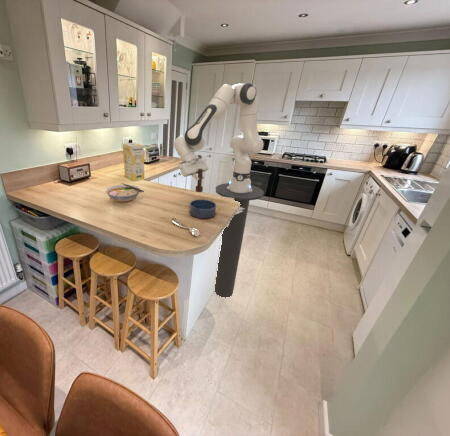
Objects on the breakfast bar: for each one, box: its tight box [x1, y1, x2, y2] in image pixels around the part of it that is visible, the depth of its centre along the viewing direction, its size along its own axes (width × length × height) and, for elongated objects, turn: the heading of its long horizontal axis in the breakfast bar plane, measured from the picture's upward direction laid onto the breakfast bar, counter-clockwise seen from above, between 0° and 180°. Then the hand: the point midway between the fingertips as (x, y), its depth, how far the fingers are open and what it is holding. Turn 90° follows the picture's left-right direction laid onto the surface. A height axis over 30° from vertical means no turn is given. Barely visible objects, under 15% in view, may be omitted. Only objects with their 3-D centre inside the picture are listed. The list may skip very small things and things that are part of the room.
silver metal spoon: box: [171, 217, 201, 237], centre depth 121 cm, size 20×4×5 cm
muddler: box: [195, 168, 204, 193], centre depth 142 cm, size 4×4×14 cm
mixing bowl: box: [189, 199, 217, 219], centre depth 137 cm, size 15×15×6 cm
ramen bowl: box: [105, 182, 145, 203], centre depth 155 cm, size 25×23×8 cm
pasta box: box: [122, 142, 146, 182], centre depth 199 cm, size 18×10×28 cm, turn 32°
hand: (200, 179), depth 141 cm, fingers closed on muddler, 2 cm apart
